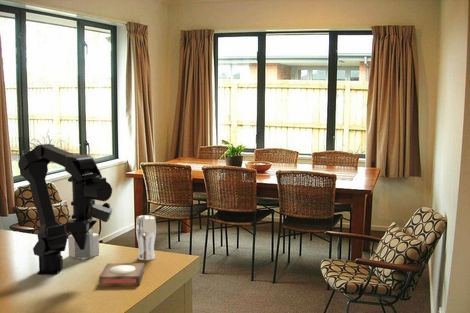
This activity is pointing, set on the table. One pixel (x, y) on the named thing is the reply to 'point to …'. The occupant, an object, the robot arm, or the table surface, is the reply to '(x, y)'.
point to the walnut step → (122, 274)
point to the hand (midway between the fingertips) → (84, 247)
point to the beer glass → (146, 236)
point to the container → (72, 245)
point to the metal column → (88, 247)
